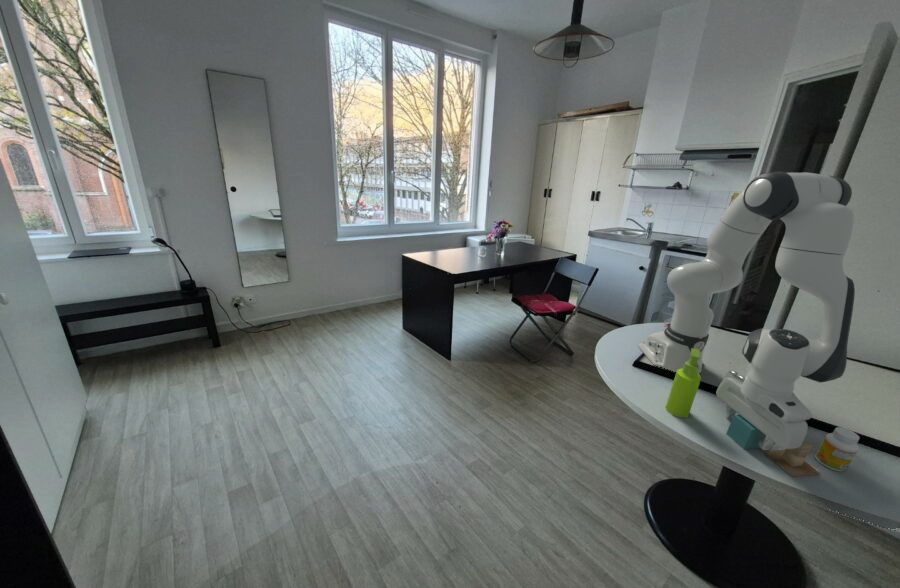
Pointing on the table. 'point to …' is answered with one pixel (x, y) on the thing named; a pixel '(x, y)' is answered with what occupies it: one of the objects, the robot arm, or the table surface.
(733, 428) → the teal rectangular block
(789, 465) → the wooden block stand
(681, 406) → the soap dispenser
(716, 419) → the table surface
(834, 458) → the supplement bottle
